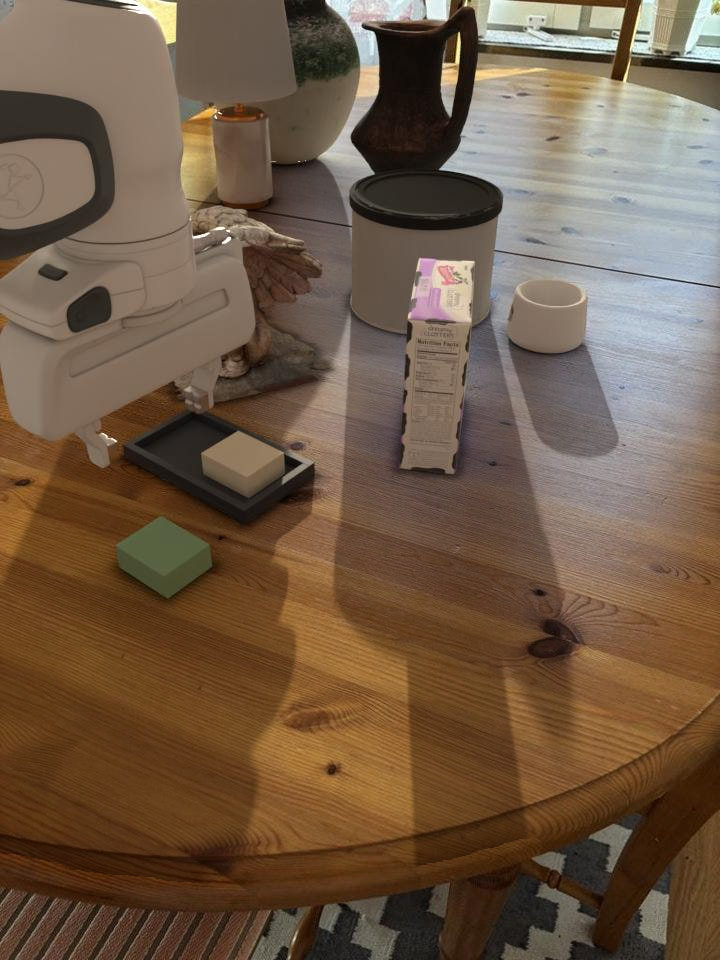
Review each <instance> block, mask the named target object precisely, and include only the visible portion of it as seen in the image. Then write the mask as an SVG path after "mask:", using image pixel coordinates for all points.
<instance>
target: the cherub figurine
mask: <svg viewBox="0 0 720 960" xmlns="http://www.w3.org/2000/svg"><path fill="white" fill-rule="evenodd" d="M248 213H249V212H248V210H243V209H232V208H228V207H226V206H224V205H213V206H210V207H207V208H201V209H199V210H197V211H195V213H194V212H193V213H191V223H192V231H193V237H194V236H199V235H202V234H205V233H207V232H208V231H210V230H212V229H214V228H219V227H222V228H225V229H226V230H227V231H231V232H233V233H234V234H235V235H236V236H237V237H238V239H240V241H241V244H242V253H243V266H244V268H245V270H246V273H247V277H248V280H249V285H250V289H251V295H252V300H253V306H254V314H255V329H254V332H253V335H252V337H251V339H250V341H249V342H248V343H246V344H244V345H242V346H240V347H238V348H236V349H234V350H232V351H230V352H228V353H226V354H224V355H223V356H221V362H222V367H221V370H220V372H219V375H218V378H217V381H216V383H215V386H214V389H212V391H213V402H214V403H216V404H217V403H220V402H222V403H224V402H228V401H233V400H236V399H241V398H246V397H249V396H253V395H258V394H262V393H266V392H271V391H275V390H276V391H277V390H280V389H284V388H288V387H289V388H290V387H292V386H296V385H301V384H305V383H311V382H314V381H318V380H320V379H319V378H318V377H317V375H316V373H315V371H314V370H312V369H318V370H325V371H328V370H329V369H328V368H327V367H326V366H325V365H324V364H323V363H322V362H321V363H319V364H315V365H314V362H315V357H316V350H315V349H314V348H312V347H311V346H309V345H308V344H307V343H304V342H302V341H300V340H296V339H295V338H294V337H293V335H291V334H289V333H282V331H279V330H278V329H275V328H274V327H273V326H270V325H269V323H268V321H267V313H271V312H272V311H273V310H274V308H275V306H276V303H278V304H280V303H281V304H285V303H286V304H288V303H289V304H290V303H292V304H293V303H297V301H298V298H297V296H301V295H302V296H303V295H306V294H309V293H310V292H311V291H312V289H313V287H312V285H311V283H310V281H309V280H308V279H320V278H321V277H322V275H323V264H322V262H321V261H320V260H318V259H317V258H315V257H314V256H313V255H311V254H310V253H308V252H306V251H307V246H306V243H305V241H304V240H302V239H297V238H293V237H289V236H287V235H284V234H280V233H277V232H275V231H274V229H273V228H272V227H271V226H267V224H265V223H263V222H261V221H257V220H256V219H255V218H251V217H248ZM228 237H229V236H228ZM193 373H194V370H193V371H191V372H189V373H187V374H185V375H184V376H182V377H180V378H178V379H176V380H174V381H173V383H174V386H175V387H177V389H176V390H174V393H177V392H179V393H180V394H177V395H176V398H177V400H179V401H180V400H181V401H182V400H183V401H185V400H186V398H185V397H184V389H186V388H187V387H189V386H191V382H192V378H193Z"/></svg>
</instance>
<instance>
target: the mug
mask: <svg viewBox="0 0 720 960" xmlns="http://www.w3.org/2000/svg"><path fill="white" fill-rule="evenodd" d="M588 299H589V297H588V294H587V292H586V291H585V290H584V289H583V288H582V287H580V286H578V285H576V284H574V283H572V282H569V281H565V280H561V279H557V278H556V279H555V278H534V279H530V280H526V281H524V282H521V283H520V284H519V285H517V286H516V288H515V290H514V293H513V298H512V301H511V306H510V310H509V314H508V317H507V321H506V329H505V330H506V334H507V336H508V338H509V339H510V340H511V342H512V343H513V344H515V345H517V346H518V347H519V348H520V347H521V348H523V349H525V350H527V351H531V352H536V353H541V354H561V353H562V354H563V353H567V352H570V351H573V350H575V349H577V348H579V346H580V345H582V344H583V342H584V340H585V337H586V333H587V320H588V319H587V317H588V302H589V300H588Z"/></svg>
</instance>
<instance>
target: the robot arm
mask: <svg viewBox="0 0 720 960" xmlns="http://www.w3.org/2000/svg"><path fill="white" fill-rule="evenodd" d="M173 68H174V67H173V63H172V60H171V55H170V52H169V47H168V43H167V41H166V37H165V34H164V32H163V29H162V27H161V25H160V23H159V21H158V19H157V17H156V16H155V14H154V13H152V12H151V10H149V9H148V7H147V6H145V5H144V4H142V3H140V2H139V1H137V0H17V1H16V4H15V5H14V7H13V8H12V9H11V10H10V12H9V13H8V14H6V16H5V17H4V18H2V20H1V21H0V262H4V261H9V260H13V259H17V258H21V257H23V256H25V255H28V254H31V253H32V254H31V255H30V256H29V257H27V258H26V259H24V261H22V262H21V263H20V264H18V265H17V266H16V267H15V268H13V269H12V270H10V271H9V272H8V273H6V274H5V275H4V276H3V277H1V278H0V315H2V316H4V317H5V318H7V319H8V321H6V323H5V325H4V326H3V328H2V331H1V332H0V372H1V373H0V374H1V379H2V384H3V389H4V394H5V398H6V399H5V400H6V402H7V407H8V410H9V413H10V415H11V417H12V419H13V420H14V422H15V423H16V424H17V425H18V426H20V427H21V428H22V429H24V430H25V431H27V432H29V433H30V434H32V435H34V436H36V437H38V438H40V439H43V440H45V441H48V442H52V443H53V442H57V441H59V440H61V439H63V438H65V437H67V436H69V435H71V434H75V435H76V437H78V438H79V439H80V440H81V441H83V443H85V445H86V449H87V450H86V451H87V454H88V458H89V460H90V461H91V463H93V464H94V465H96V466H97V467H99V468H101V469H105V468H107V467H108V466H110V465H112V464H114V463H115V462H117V461H119V460H121V454H120V453H119V449H120V448H119V443H118V440H117V439H114V438H112V437H108V436H109V435H107V434H105V433H103V432H100V433H99V434H97V433H96V432H99V431H100V430H102V427H103V426H102V422H101V419H102V418H104V417H105V416H108V415H110V414H111V413H114V412H116V411H117V410H119V409H121V408H123V407H125V406H127V405H129V404H131V403H133V402H135V401H137V400H139V399H141V398H142V397H145V396H146V395H148V394H150V393H152V392H154V391H156V390H158V389H160V388H162V387H164V386H166V385H168V384H170V383H172V382H174V380H176V379H178V378H180V377H182V376H184V375H185V374H187V373H189V372H191V371H193V370H194V373H193V378H192V382H191V386H189V387H187V388H186V389H184V397H185V398H186V400H184V405H185V407H186V409H188V410H190V411H195V413H196V414H200V413H202V412H204V411H208V410H210V409H212V408H213V407H214V406H215V405H214V403H215V402H213V391H212V389H214V386H215V383H216V381H217V378H218V375H219V372H220V370H221V367H222V362H221V356H223V355H224V354H226V353H228V352H230V351H232V350H234V349H236V348H238V347H240V346H242V345H244V344H246V343H248V342H249V341H250V339H251V337H252V335H253V332H254V329H255V314H254V306H253V300H252V295H251V289H250V285H249V280H248V277H247V273H246V270H245V268H244V266H243V253H242V244H241V241H240V239H238V237H237V236H236V235H235V234H234V233H233V232H231V231H227V230H226V229H225V228H222V227H219V228H214V229H212V230H210V231H208V232H207V233H205V234H202V235H199V236H194V237H193V231H192V223H191V214H192V213H191V208H190V204H189V201H188V199H187V197H186V195H185V192H184V188H183V184H182V177H181V168H182V163H183V158H184V157H183V156H184V151H185V150H184V146H185V145H184V137H183V136H184V135H183V127H182V119H181V118H182V117H181V111H180V110H181V109H180V103H179V95H178V94H177V89H176V83H175V73H174V69H173ZM228 236H229V237H228Z"/></svg>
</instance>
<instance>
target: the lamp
mask: <svg viewBox="0 0 720 960" xmlns="http://www.w3.org/2000/svg"><path fill="white" fill-rule="evenodd" d="M175 10H176V12H175V13H176V16H175V20H176V21H175V68H174V69H175V70H174V71H175V73H174V77H175V83H176V89H177V95H178V96H180V97H182V98H184V99H188V100H191V101H196V102H203V103H212V104H214V103H235V106H231V107H225V108H221V109H219V110H218V111H217V110H216V112H215V113H213V114H212V115H211V116H210V122H211V123H210V124H211V133H212V144H213V145H212V146H213V155H214V157H213V158H214V169H215V179H216V180H215V181H216V190H217V196H218V199H219V200H220V201H222V204H223V206H224V207H228V208H232V209H243V210H246V211H250V210H257V209H261V208H264V207H265V206H267V205H268V204H269V199H270V198H272V197H273V194H274V189H273V188H274V187H273V171H272V170H273V168H272V163H271V145H270V124H269V115H268V114H267V113H266V112H264V111H263V110H262V109H260V108H257V107H252V106H244V103H255V102H264V101H271V100H276V99H280V98H284V97H287V96H289V95H291V94H293V93H294V92H295V91H296V90H297V85H296V79H295V72H294V65H293V58H292V51H291V45H290V38H289V31H288V25H287V19H286V13H285V6H284V0H176V9H175Z"/></svg>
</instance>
